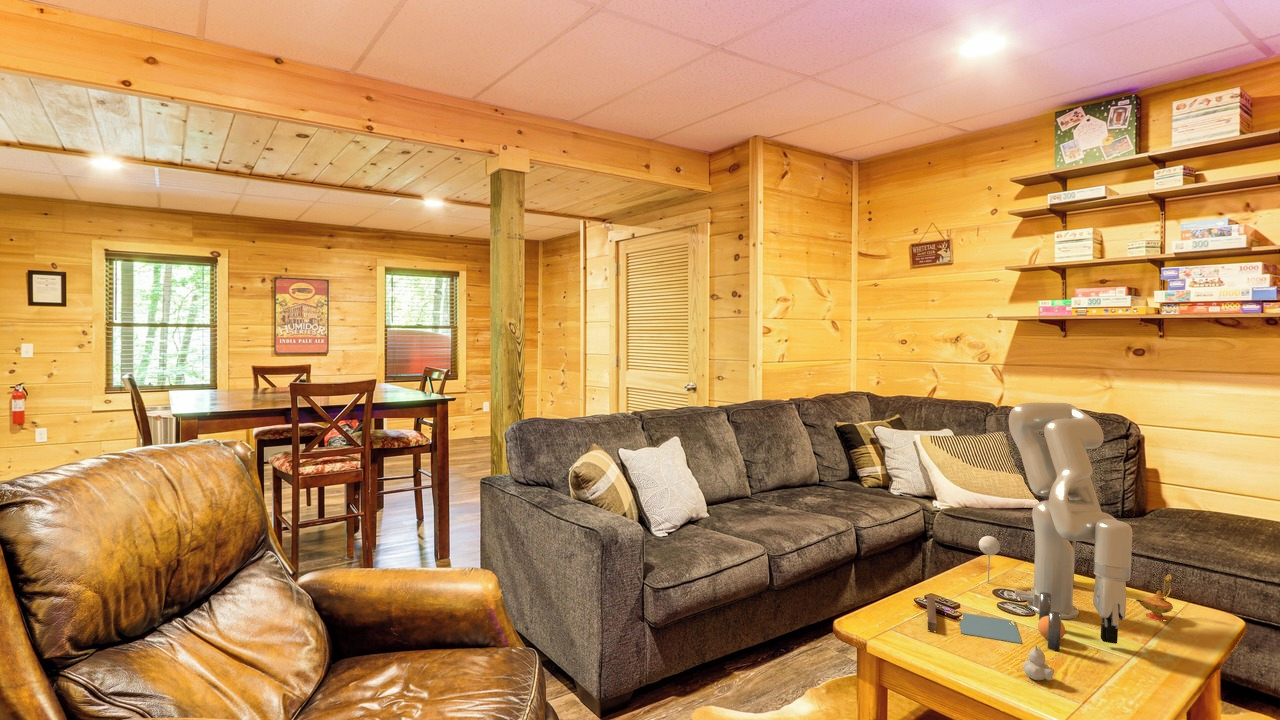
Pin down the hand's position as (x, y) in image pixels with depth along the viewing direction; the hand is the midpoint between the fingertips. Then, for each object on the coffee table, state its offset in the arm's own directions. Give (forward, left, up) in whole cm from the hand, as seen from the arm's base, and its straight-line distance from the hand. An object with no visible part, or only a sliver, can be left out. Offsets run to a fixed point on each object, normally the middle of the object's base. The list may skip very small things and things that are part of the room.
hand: (1108, 641), depth 166 cm
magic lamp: (+16, +25, -2) cm, 30 cm away
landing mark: (-27, 0, -2) cm, 27 cm away
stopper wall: (-41, 0, -2) cm, 41 cm away
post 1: (-13, +6, -2) cm, 15 cm away
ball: (-13, -1, +2) cm, 13 cm away
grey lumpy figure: (-19, -25, -2) cm, 31 cm away
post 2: (-13, -7, -2) cm, 15 cm away
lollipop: (-24, +35, -2) cm, 42 cm away
